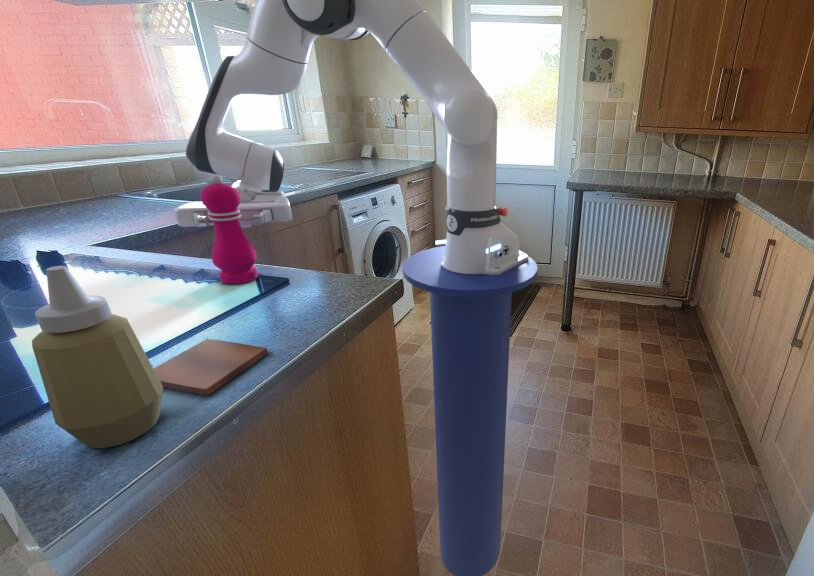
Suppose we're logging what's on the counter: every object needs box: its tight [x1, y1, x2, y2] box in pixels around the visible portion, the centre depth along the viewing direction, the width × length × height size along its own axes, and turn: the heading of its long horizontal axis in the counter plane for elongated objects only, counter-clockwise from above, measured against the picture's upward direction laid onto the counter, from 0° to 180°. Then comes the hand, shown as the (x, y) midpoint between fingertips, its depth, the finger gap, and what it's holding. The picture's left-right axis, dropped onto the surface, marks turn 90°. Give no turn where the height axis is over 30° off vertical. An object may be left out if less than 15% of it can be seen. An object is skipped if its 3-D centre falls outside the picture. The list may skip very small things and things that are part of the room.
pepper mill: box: [200, 174, 259, 285], centre depth 77 cm, size 7×7×20 cm
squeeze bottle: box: [31, 265, 164, 449], centre depth 39 cm, size 8×8×18 cm
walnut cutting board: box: [153, 338, 269, 397], centre depth 53 cm, size 10×10×1 cm
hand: (230, 221), depth 79 cm, fingers open, 8 cm apart
